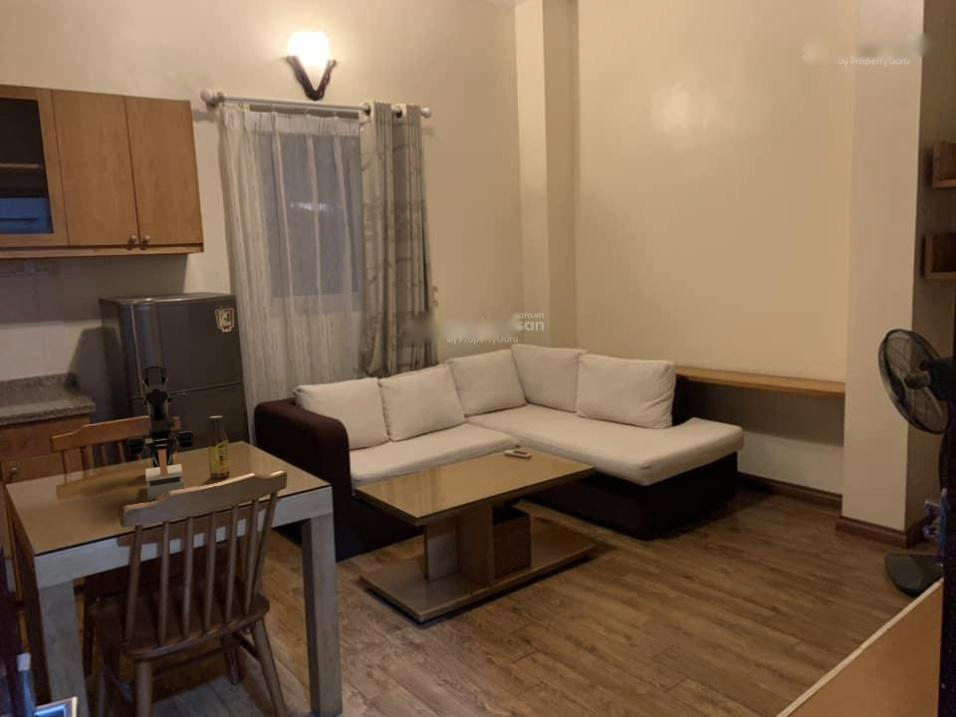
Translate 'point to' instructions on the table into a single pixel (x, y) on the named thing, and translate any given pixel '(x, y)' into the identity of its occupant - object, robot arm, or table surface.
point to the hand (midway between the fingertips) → (163, 465)
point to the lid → (163, 469)
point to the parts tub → (163, 486)
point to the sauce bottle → (218, 449)
